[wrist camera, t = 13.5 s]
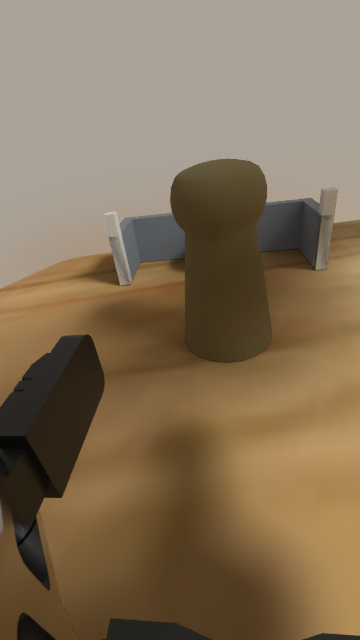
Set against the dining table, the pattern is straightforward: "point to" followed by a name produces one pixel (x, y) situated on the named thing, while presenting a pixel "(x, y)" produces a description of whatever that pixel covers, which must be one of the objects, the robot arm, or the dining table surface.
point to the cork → (223, 258)
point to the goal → (273, 231)
